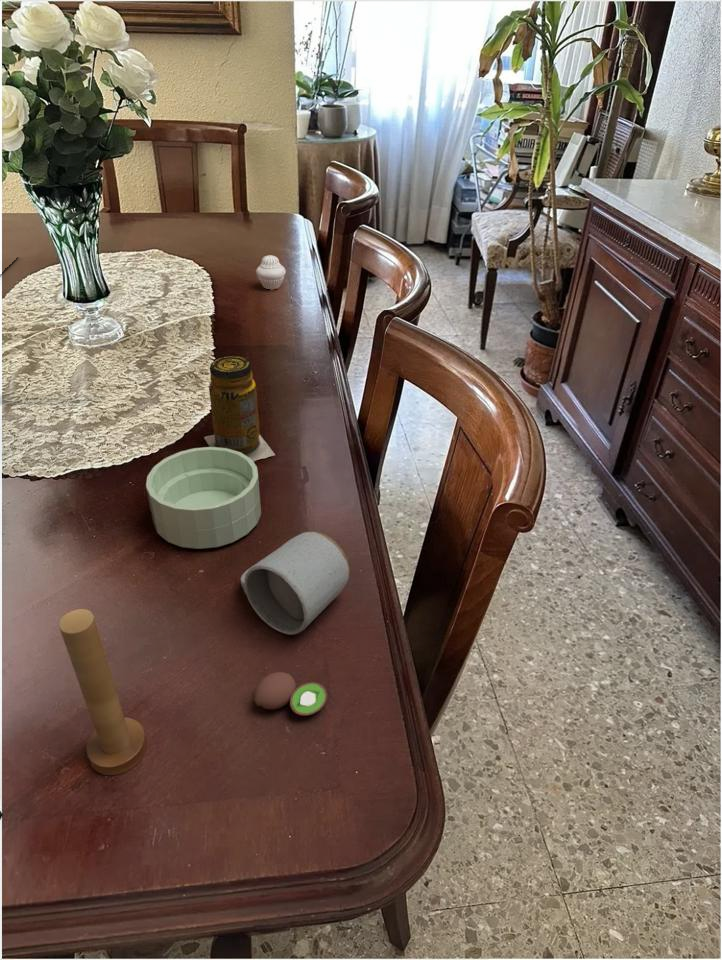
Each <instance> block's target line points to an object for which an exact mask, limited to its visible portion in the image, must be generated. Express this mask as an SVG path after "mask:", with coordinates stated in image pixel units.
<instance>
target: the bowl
mask: <svg viewBox="0 0 722 960" xmlns="http://www.w3.org/2000/svg"><path fill="white" fill-rule="evenodd" d="M145 488H146V489H145V490H146V492H147V493H146V494H147V498H148V504H149V508H150V514H151V519H152V524H153V526H154V528H155V531H156V533H157V534H158V535H159V536H160V537H161V538H163V540H165V541H166V542H167V543H170V544H173V545H175V546H178V547H180V548H187V549H195V550H197V549H198V550H202V549H203V550H204V549H211V548H219V547H223V546H226V545H228V544H229V545H230V544H232V543H234V542H236V541H238V540H240V539H241V538H243V537H245V536H247V535H248V534H249V533H250V532H251V531H252V530H253V529H254V528H255V527H256V526H257V525H258V524H259V520H260V518H261V515H262V506H261V495H260V482H259V471H258V466H257V465H256V464H255V461H254V462H253V461H252V459H251V458H249V457H247V456H246V455H244V454H243V453H241V452H238V451H234V450H231V449H228V448H218V447H209V446H203V447H193V448H189V449H185V450H181V451H178V452H176V453H174V454H171V455H169V456H166V457H164V458H163V459H162V460H160V461H159V462H158V463H157V464H155V465H154V466H153V467H152V468H151V470H150V472H149V473H148V475H147V476H146V483H145Z"/></svg>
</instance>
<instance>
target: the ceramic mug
mask: <svg viewBox="0 0 722 960" xmlns="http://www.w3.org/2000/svg"><path fill="white" fill-rule="evenodd" d="M350 571H351V570H350V564H349V560H348V558H347V556H346V554H345V552H344V551H343V549H342V547H341V546H340V545H339V544H338V543H337V542H336V541H335V540H334V539H332V538H331V537H330V536H328V535H326V534H324V533H321V532H320V531H315V530H312V531H305V532H302V533H300V534H298V535H296V536H294V537H292V538H291V539H289V540H287V541H286V542H285V543H284V544H282V545H281V546H280V547H278V548H277V549H276V550H274V551H272V552H271V553H269V554H268V555H267V556H265V557H263V558H262V559H261V560H259V561H258V562H257V563H255V564H254V565H252V566H250V567H249V568H248V569H247V570H245V571H244V572H243V574H242V575H241V576H240V584H241V587H242V589H243V592H244V594H245V595H246V596H247V600H248V602H249V603H250V606H251V607H252V609H253V610H254V611H255V613H256V614H257V615H258V617H259V618H260V619H261V620H262V621H263V622H264V623H265V624H267V625H268V626H269V627H270V628H272V629H273V630H275V631H277V632H279V633H281V634H284V635H289V636H291V635H298V634H300V633H302V632H303V631H305V630H306V628H307V627H308V626H309V625H310V624H311V623H312V622H313V621H314V620H315V619H316V618H317V617H318V616H319V615H320V614H321V613H322V612H323V611H324V610H325V609H326V608H327V607H328V606H329V605H330V604H331V603H332V602H333V601H334V600H336V598H337V597H338V596H339V595H340V594H341V593H342V591H343V590H344V588H346V585H347V583H348V581H349V578H350V575H351V574H350Z"/></svg>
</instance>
